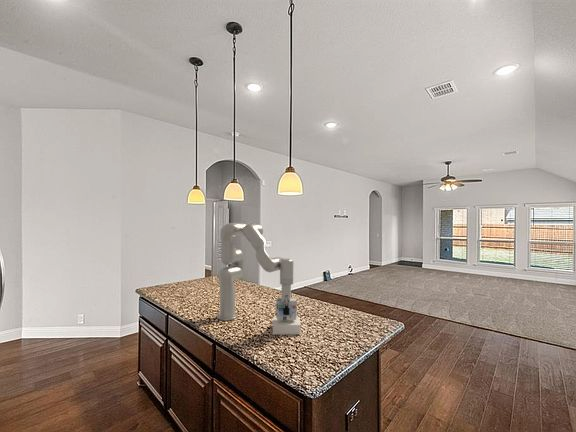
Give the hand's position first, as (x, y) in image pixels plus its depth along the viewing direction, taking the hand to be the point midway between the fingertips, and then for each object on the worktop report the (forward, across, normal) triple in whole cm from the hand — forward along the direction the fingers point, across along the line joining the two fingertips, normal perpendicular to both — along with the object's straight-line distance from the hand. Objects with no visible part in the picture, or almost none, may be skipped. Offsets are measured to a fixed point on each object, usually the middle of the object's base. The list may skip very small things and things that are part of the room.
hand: (286, 312), depth 157 cm
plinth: (+10, 0, 0) cm, 10 cm away
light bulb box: (+4, 0, 0) cm, 4 cm away
